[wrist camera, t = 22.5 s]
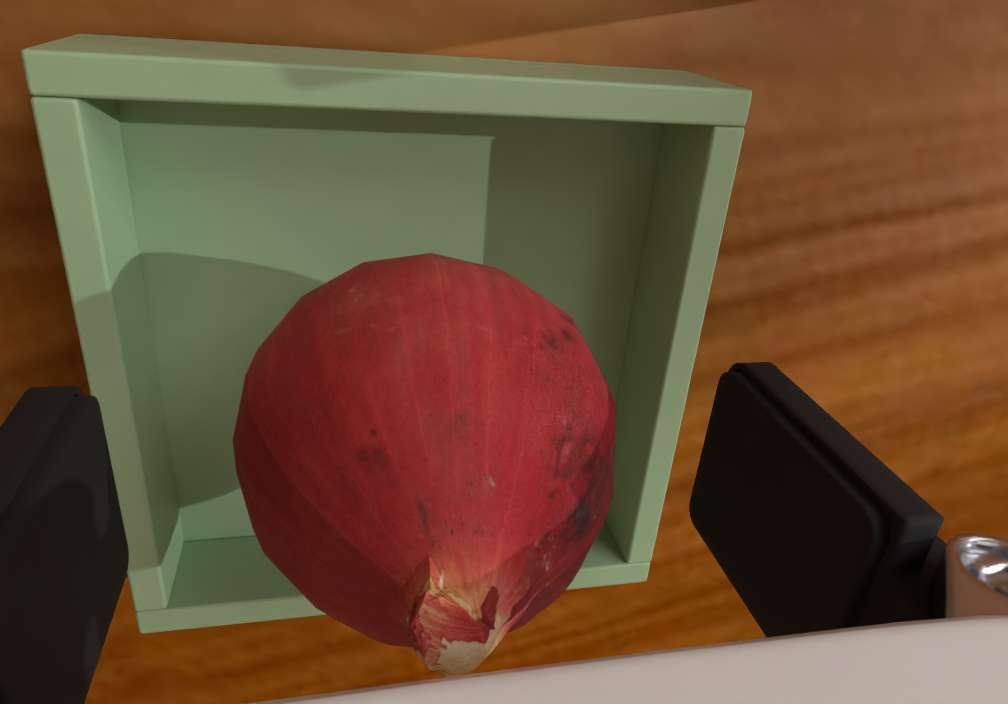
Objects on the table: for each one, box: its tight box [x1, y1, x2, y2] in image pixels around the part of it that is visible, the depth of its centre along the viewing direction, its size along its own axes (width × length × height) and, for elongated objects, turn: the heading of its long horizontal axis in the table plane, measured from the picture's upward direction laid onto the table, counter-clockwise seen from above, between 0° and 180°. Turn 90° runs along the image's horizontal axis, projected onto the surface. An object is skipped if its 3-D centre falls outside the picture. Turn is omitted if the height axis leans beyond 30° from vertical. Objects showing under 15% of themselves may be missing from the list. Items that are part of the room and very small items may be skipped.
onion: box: [233, 253, 616, 677], centre depth 11 cm, size 6×6×8 cm
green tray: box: [21, 33, 752, 634], centre depth 14 cm, size 11×11×3 cm
